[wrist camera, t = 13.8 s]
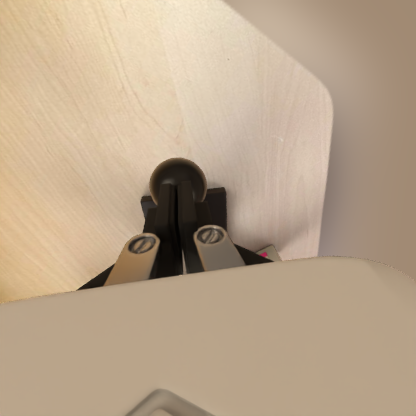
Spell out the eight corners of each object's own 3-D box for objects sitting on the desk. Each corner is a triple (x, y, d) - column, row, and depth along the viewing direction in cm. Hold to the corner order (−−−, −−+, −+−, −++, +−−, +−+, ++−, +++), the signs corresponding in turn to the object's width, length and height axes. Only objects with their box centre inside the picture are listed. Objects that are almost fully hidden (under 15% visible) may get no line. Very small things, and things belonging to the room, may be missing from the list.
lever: (149, 159, 14) (138, 162, 11) (201, 154, 14) (207, 155, 11) (176, 314, 18) (174, 353, 14) (216, 308, 18) (224, 345, 15)
